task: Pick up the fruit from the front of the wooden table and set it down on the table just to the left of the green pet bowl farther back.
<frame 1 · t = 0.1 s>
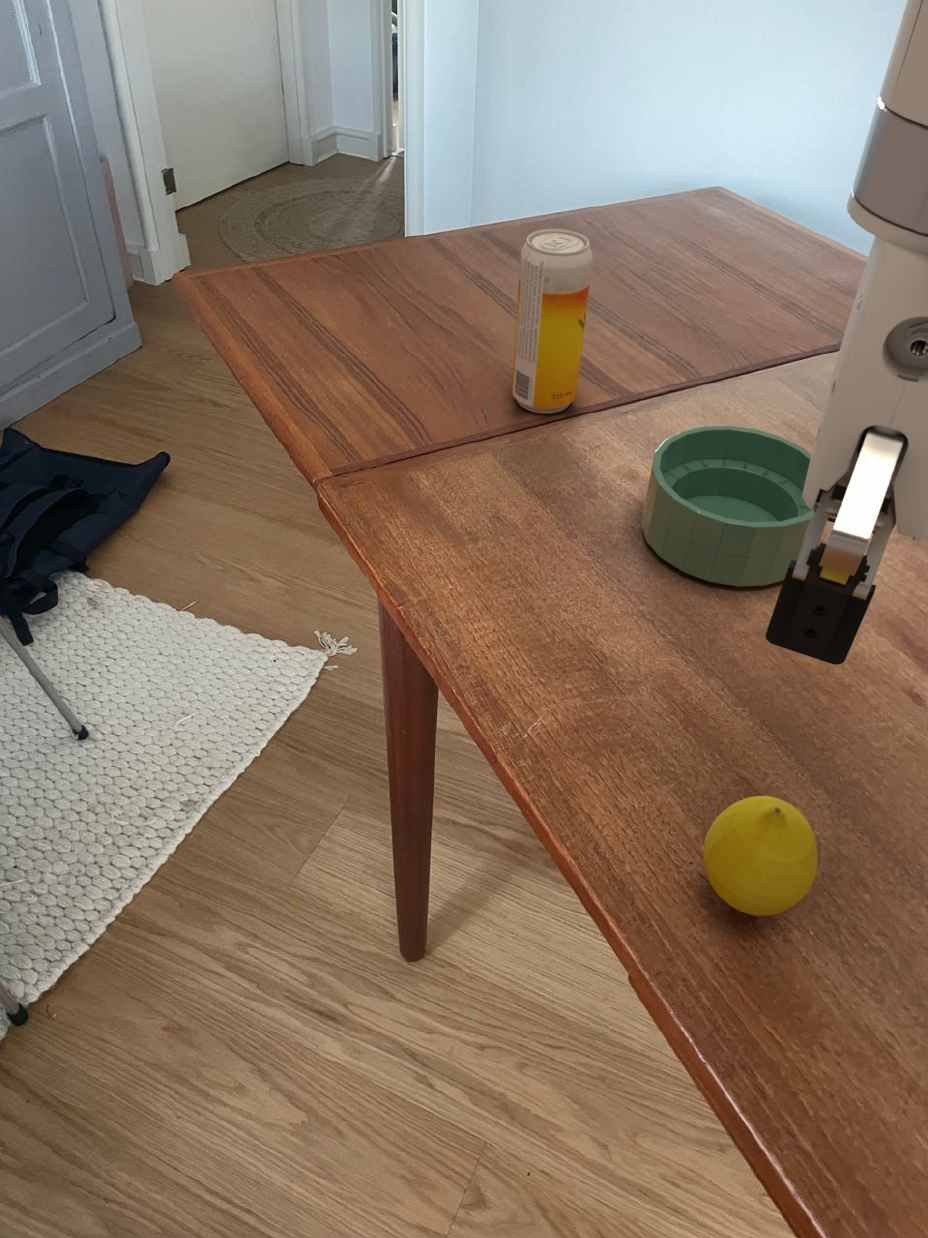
hand: (826, 581, 42), 18 cm above the table, tool pointing down, fingers open, 9 cm apart
fruit: (741, 898, 51), on the table
beer can: (543, 401, 89), on the table
green pet bowl: (724, 536, 74), on the table
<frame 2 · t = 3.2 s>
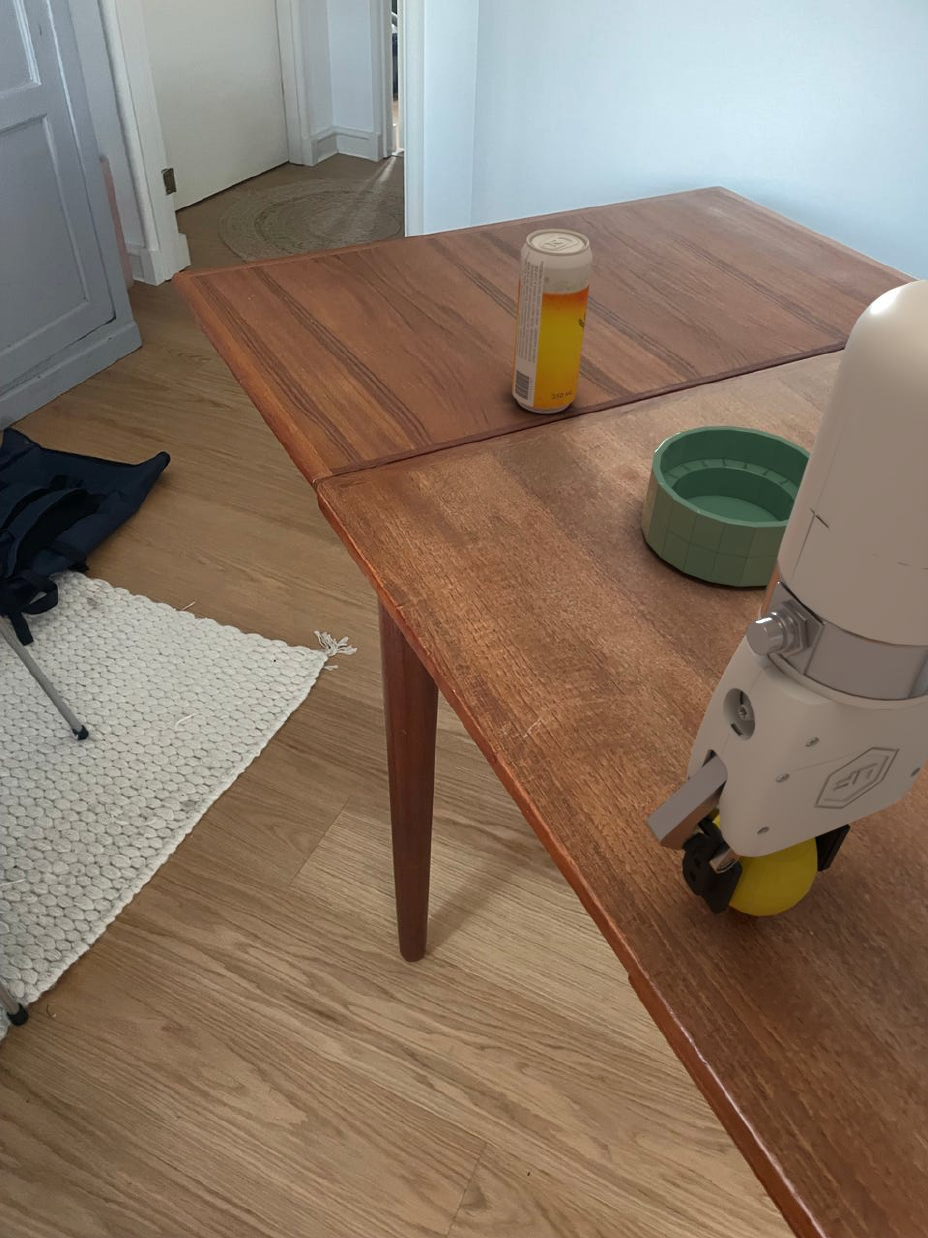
hand: (754, 866, 49), 3 cm above the table, tool pointing down, fingers closed on fruit, 5 cm apart
fruit: (741, 898, 51), on the table, touching gripper
everything else where it was.
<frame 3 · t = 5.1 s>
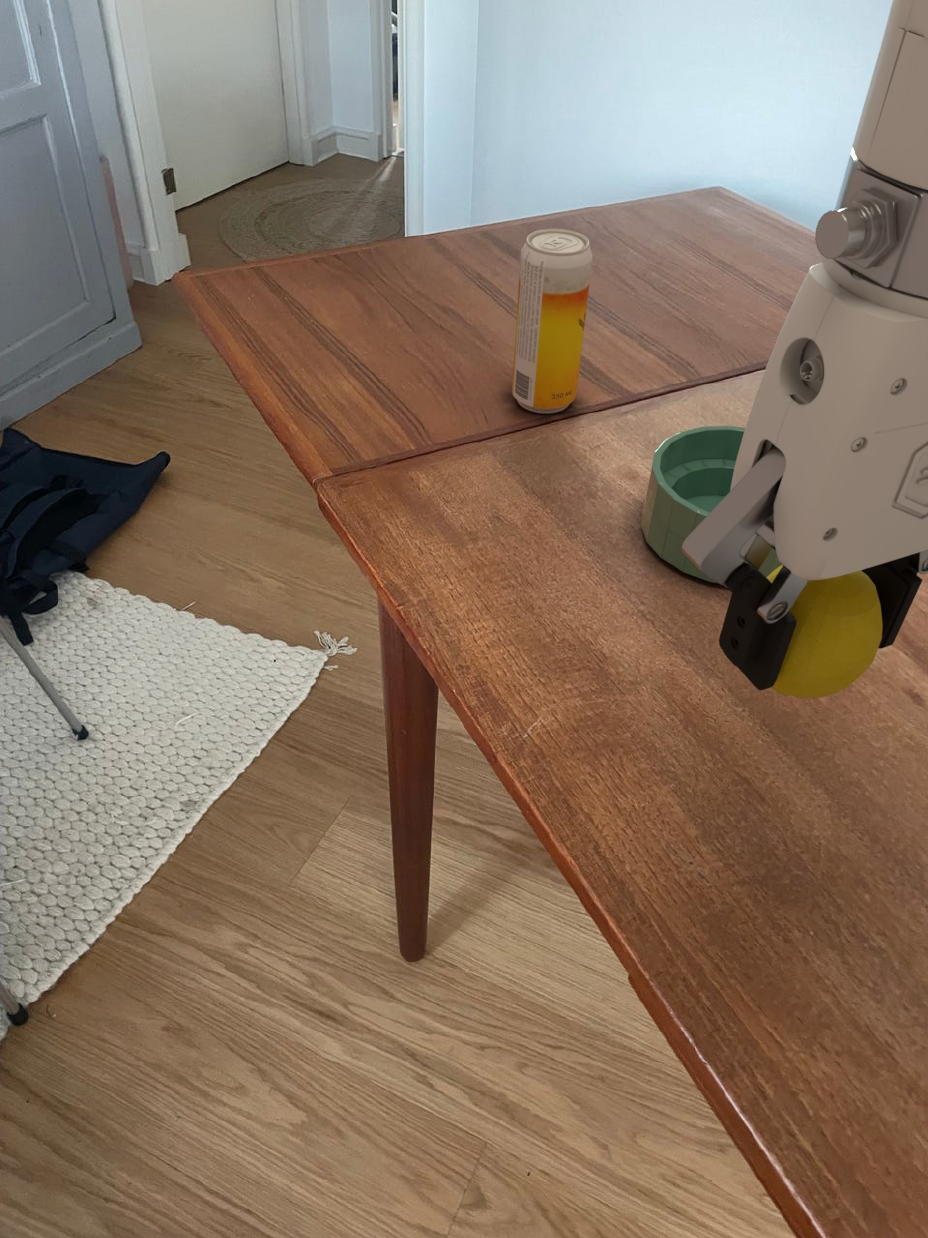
hand: (805, 643, 41), 17 cm above the table, tool pointing down, fingers closed on fruit, 5 cm apart
fruit: (786, 692, 43), point 14 cm above the table, touching gripper
everything else where it was.
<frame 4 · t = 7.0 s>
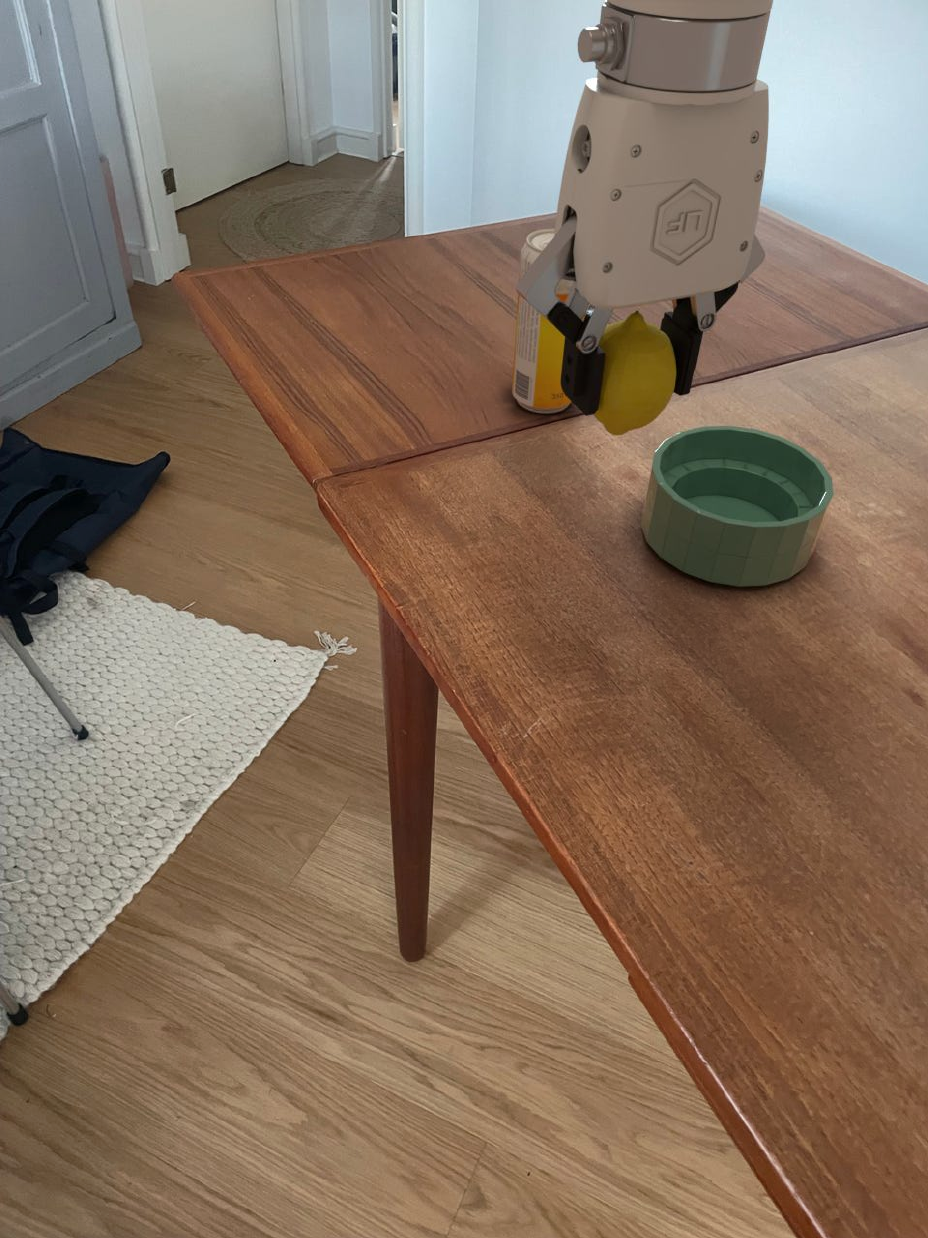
hand: (626, 391, 56), 17 cm above the table, tool pointing down, fingers closed on fruit, 5 cm apart
fruit: (618, 436, 58), point 14 cm above the table, touching gripper
everything else where it was.
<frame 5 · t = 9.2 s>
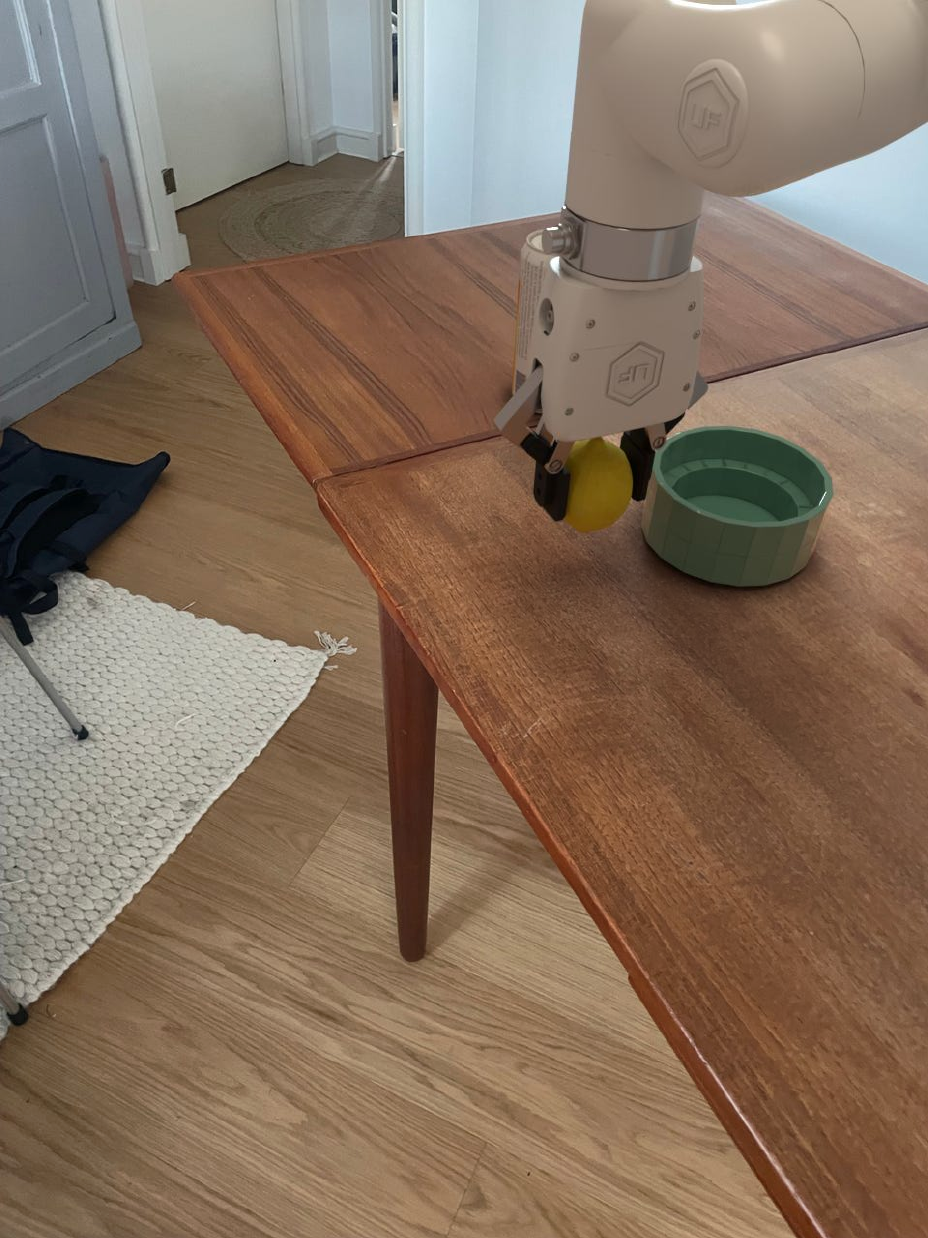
hand: (590, 497, 65), 7 cm above the table, tool pointing down, fingers closed on fruit, 5 cm apart
fruit: (585, 533, 67), point 4 cm above the table, touching gripper
everything else where it was.
when the fingers open (3 cm above the table, at t = 10.8 s): fruit stays where it is, on the table.
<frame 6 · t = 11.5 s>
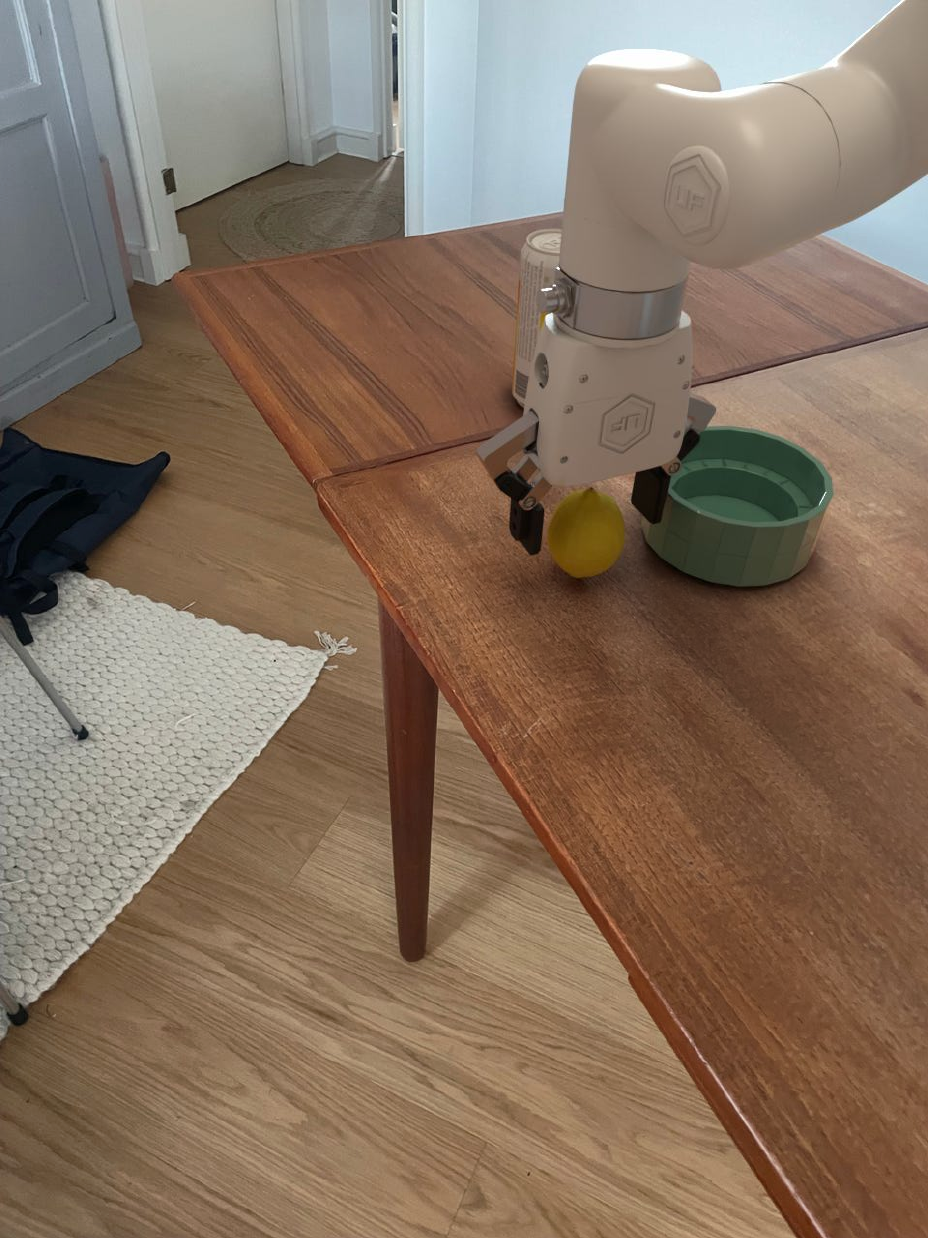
hand: (586, 528, 67), 4 cm above the table, tool pointing down, fingers open, 9 cm apart
fruit: (579, 577, 70), on the table
everything else where it was.
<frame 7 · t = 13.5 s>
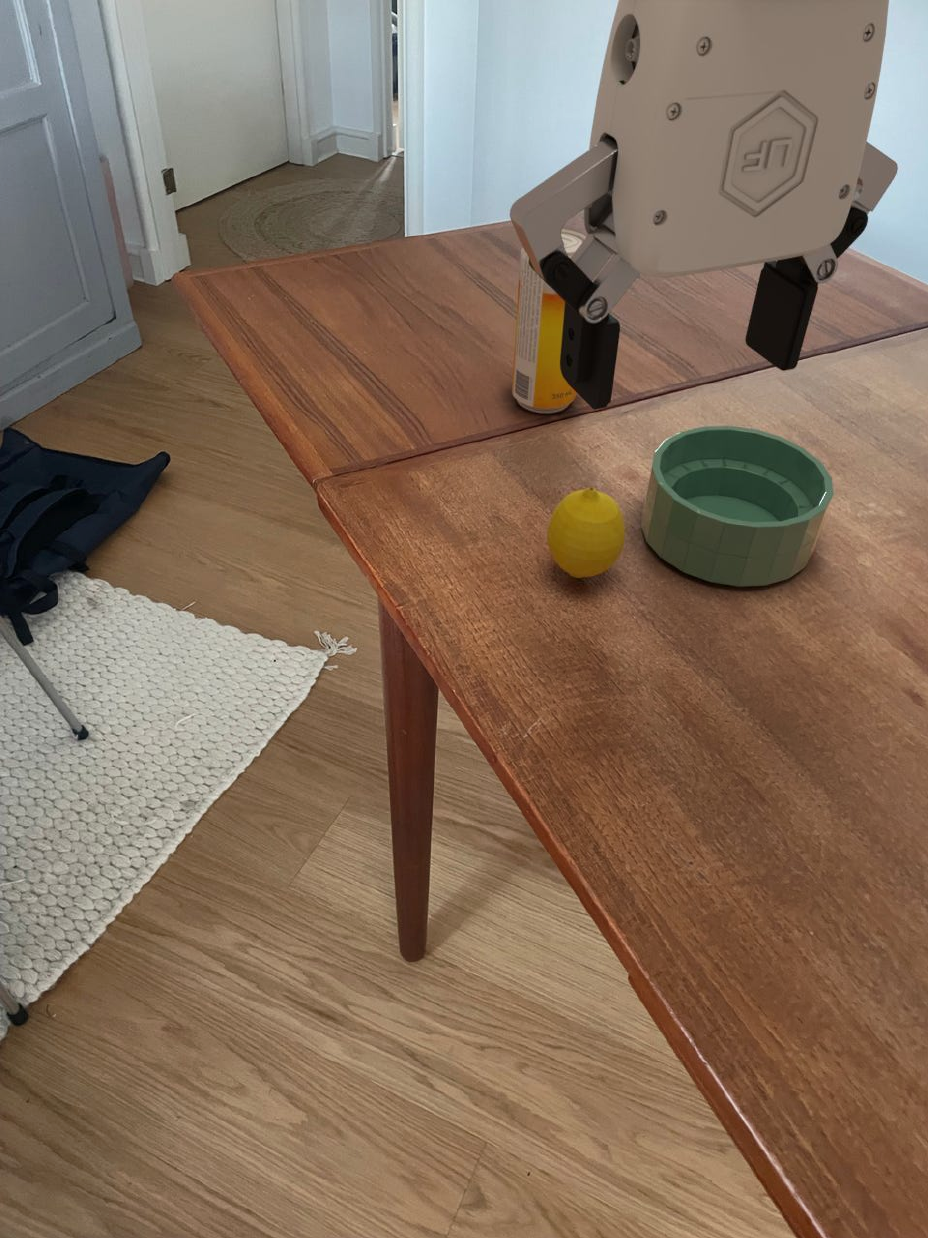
hand: (680, 375, 43), 24 cm above the table, tool pointing down, fingers open, 9 cm apart
nothing on the table moved.
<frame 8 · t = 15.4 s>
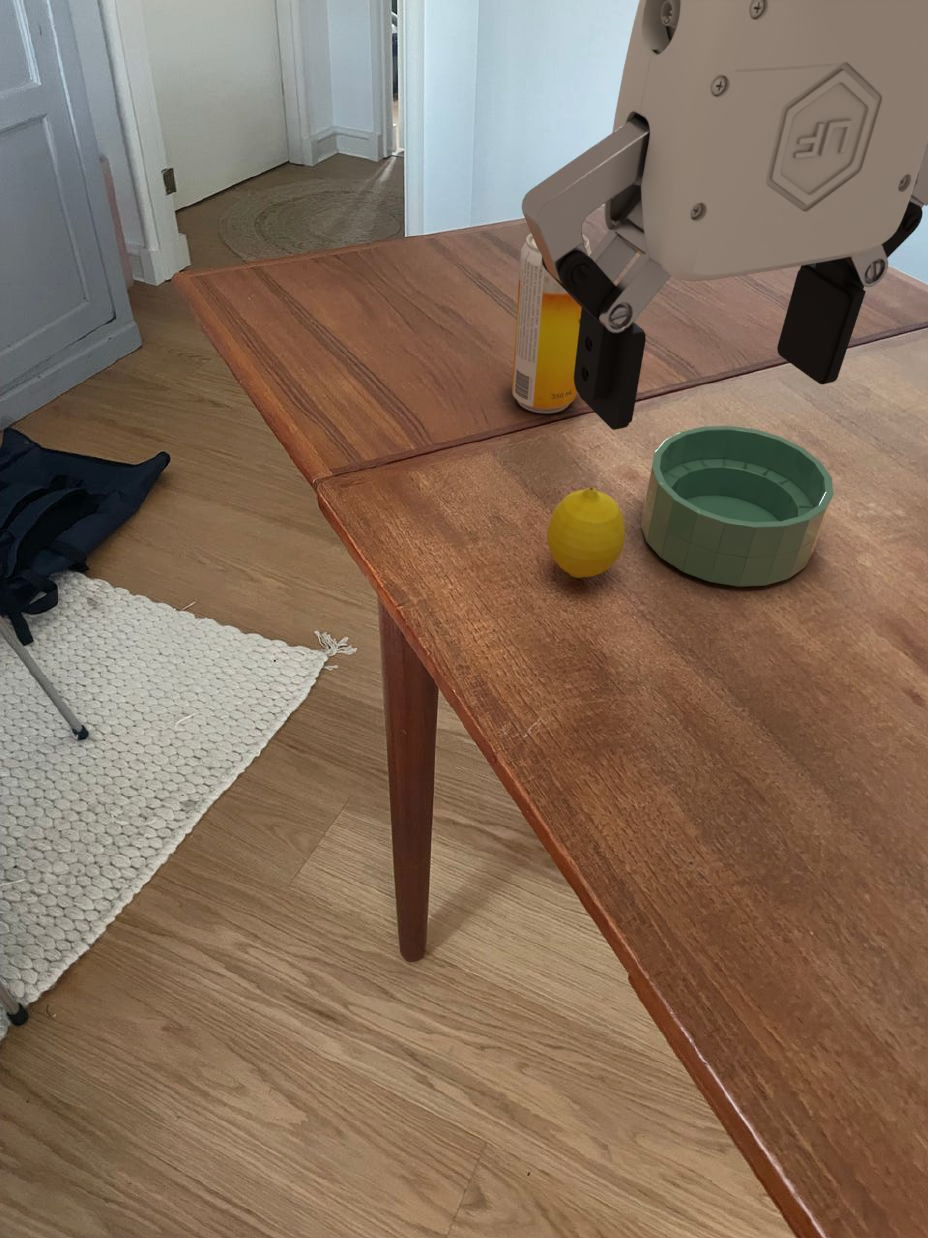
hand: (707, 389, 38), 26 cm above the table, tool pointing down, fingers open, 9 cm apart
nothing on the table moved.
at the end: fruit inside the target area on the table beside the green pet bowl (0.5 cm from its centre), on the table; fruit touching table; the gripper is holding nothing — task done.
